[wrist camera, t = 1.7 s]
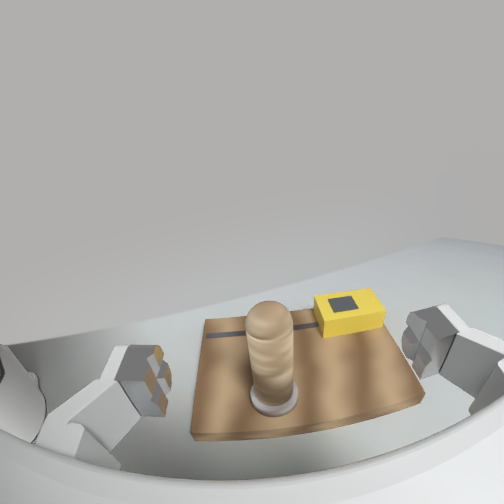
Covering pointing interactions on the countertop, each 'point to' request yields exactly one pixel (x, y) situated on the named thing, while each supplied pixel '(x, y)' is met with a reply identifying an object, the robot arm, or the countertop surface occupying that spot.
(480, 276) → the countertop surface
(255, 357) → the wooden dome-topped peg
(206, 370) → the plywood board
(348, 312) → the block
